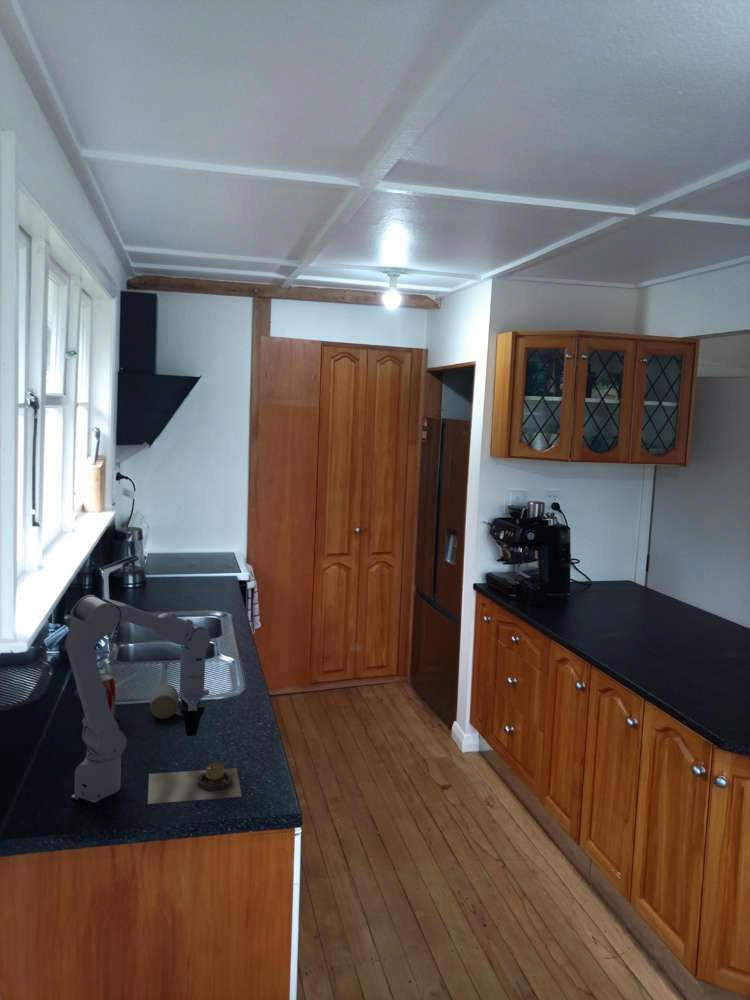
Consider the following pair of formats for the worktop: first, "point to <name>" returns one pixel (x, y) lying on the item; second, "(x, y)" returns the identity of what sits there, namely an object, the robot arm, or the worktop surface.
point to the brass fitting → (214, 773)
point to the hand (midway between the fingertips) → (190, 728)
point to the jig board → (191, 786)
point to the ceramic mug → (165, 701)
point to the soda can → (109, 690)
